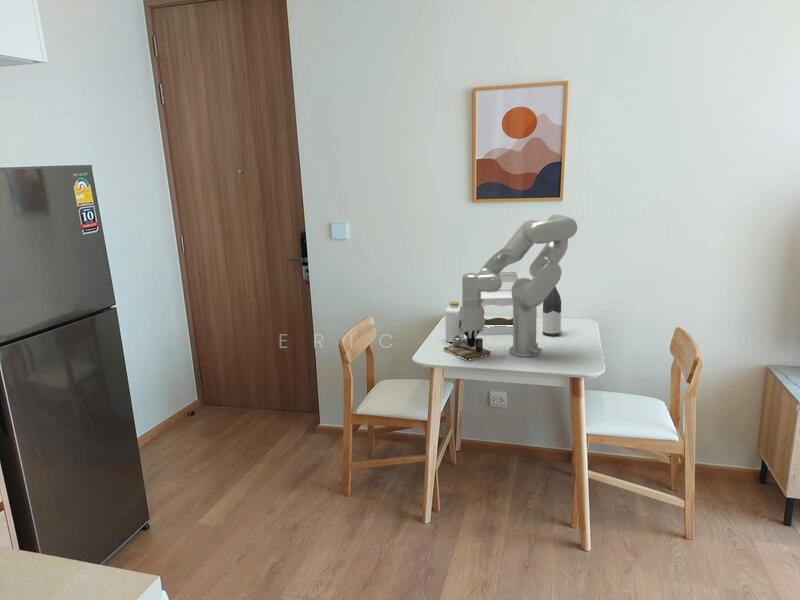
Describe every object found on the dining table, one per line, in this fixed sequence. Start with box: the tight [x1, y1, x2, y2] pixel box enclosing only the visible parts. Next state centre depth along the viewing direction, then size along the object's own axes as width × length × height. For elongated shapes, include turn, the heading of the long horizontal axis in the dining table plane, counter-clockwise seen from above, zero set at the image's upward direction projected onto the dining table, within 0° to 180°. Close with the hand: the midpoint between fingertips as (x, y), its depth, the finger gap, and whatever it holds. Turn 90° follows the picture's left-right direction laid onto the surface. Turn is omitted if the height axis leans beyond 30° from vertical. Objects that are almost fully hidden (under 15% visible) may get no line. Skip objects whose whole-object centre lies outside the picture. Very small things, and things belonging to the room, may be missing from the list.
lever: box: [452, 337, 484, 352], centre depth 240 cm, size 15×4×5 cm, turn 43°
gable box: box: [477, 271, 519, 335], centre depth 266 cm, size 22×13×28 cm, turn 83°
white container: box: [444, 301, 465, 343], centre depth 254 cm, size 8×8×18 cm
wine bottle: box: [542, 286, 562, 338], centre depth 256 cm, size 8×8×30 cm
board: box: [443, 335, 491, 361], centre depth 240 cm, size 16×12×6 cm
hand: (471, 346), depth 234 cm, fingers closed
